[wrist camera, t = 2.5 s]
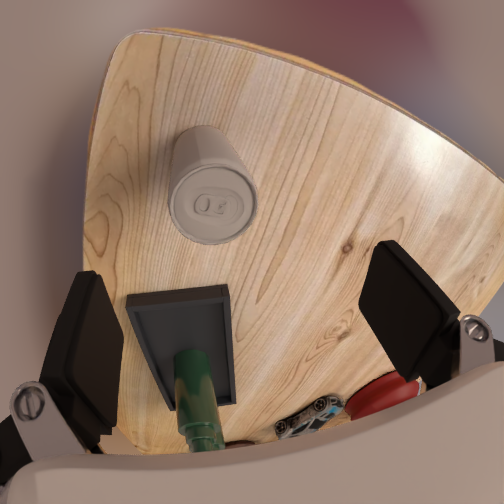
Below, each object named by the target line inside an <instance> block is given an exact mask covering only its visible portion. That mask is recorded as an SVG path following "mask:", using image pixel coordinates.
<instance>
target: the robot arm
mask: <svg viewBox="0 0 504 504" xmlns="http://www.w3.org/2000/svg"><path fill="white" fill-rule="evenodd" d="M358 305H359V309H360V311H361V313H362V314H363V316H364V317H365V319H366V321H367V322H368V324H369V325H370V327H371V329H372V330H373V332H374V334H375V335H376V337H377V339H378V340H379V342H380V344H381V345H382V347H383V349H384V350H385V352H386V354H387V355H388V357H389V359H390V360H391V362H392V364H393V365H394V367H395V369H396V371H397V372H398V374H399V375H400V376H401V377H403V378H404V379H405V381H406V383H409V382H411V381H413V380H416V379H418V378H419V376H420V377H421V378H422V384H421V390H420V395H418V396H416V397H414V398H411V399H409V400H407V401H404V402H402V403H400V404H397V405H395V406H392V407H390V408H387V409H384V410H382V411H379V412H376V413H374V414H371V415H368V416H365V417H362V418H359V419H357V420H354V421H350V422H347V423H344V424H341V425H338V426H334V427H331V428H328V429H324V430H320V431H317V432H313V433H309V434H305V435H301V436H297V437H293V438H288V439H284V440H279V441H274V442H269V443H263V444H258V445H252V446H246V447H239V448H232V449H225V450H216V451H207V452H196V453H181V454H159V455H114V454H107V453H106V452H105V450H104V449H103V448H102V447H101V445H100V444H99V442H100V435H112V427H115V426H116V424H117V408H118V393H119V381H120V370H121V360H122V352H123V343H124V336H123V331H122V329H121V326H120V324H119V321H118V319H117V316H116V314H115V311H114V309H113V306H112V304H111V301H110V298H109V296H108V293H107V290H106V287H105V285H104V282H103V279H102V276H101V275H100V274H98V275H97V274H96V272H95V271H93V270H92V271H82V272H78V273H77V274H76V276H75V279H74V281H73V284H72V286H71V288H70V291H69V293H68V296H67V299H66V302H65V304H64V307H63V309H62V312H61V314H60V315H59V317H58V319H57V322H56V325H55V328H54V331H53V334H52V337H51V340H50V343H49V346H48V350H47V353H46V356H45V360H44V363H43V367H42V371H41V374H40V378H39V382H35V381H29V382H25V383H23V384H21V385H20V386H19V387H18V388H17V389H16V390H15V391H14V393H13V394H12V397H11V400H10V412H11V415H9V416H8V417H7V418H6V419H5V420H3V421H2V422H1V423H0V504H504V343H503V342H501V341H498V340H495V339H493V336H492V331H491V329H490V327H489V325H488V324H487V323H486V322H485V321H484V320H483V319H481V318H480V317H478V316H475V315H465V316H463V317H462V319H461V320H460V322H459V320H458V319H457V318H458V316H459V314H460V313H461V312H460V311H459V309H458V308H457V307H456V306H455V305H454V303H453V302H452V301H451V300H450V299H449V298H448V296H447V295H446V294H445V293H444V292H443V291H442V290H441V288H440V287H439V286H438V285H437V284H436V283H435V282H434V281H433V280H432V278H431V277H430V276H429V275H428V274H427V273H426V272H425V271H424V270H423V269H422V268H421V267H420V266H419V264H418V263H417V262H416V261H415V260H414V259H413V258H412V257H411V256H410V255H409V254H408V253H407V252H406V251H405V250H404V249H403V248H402V247H401V246H400V245H399V244H398V243H397V242H396V241H395V240H388V241H380V242H379V243H378V244H377V246H375V247H374V250H373V254H372V257H371V261H370V265H369V268H368V272H367V275H366V279H365V282H364V285H363V289H362V292H361V295H360V298H359V303H358Z"/></svg>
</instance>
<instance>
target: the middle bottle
mask: <svg viewBox="0 0 504 504" xmlns="http://www.w3.org/2000/svg"><path fill="white" fill-rule="evenodd" d="M173 372H174V388H175V402H176V414H177V425H178V432H179V433H180V434H181V435H183V436H185V437H186V443H187V444H188V445H191V446H192V451H193V453H196V452H207V451H213V446H212V444H214V443H215V442H216V441H217V439H216V434H217V433H218V432H220V430H221V424H220V419H219V413H218V407H217V402H216V396H215V390H214V384H213V377H212V371H211V365H210V358H209V356H208V355H207V354H206V353H205V352H203V351H200V350H192V349H191V350H184V351H181V352H179V353H177V354H176V355H175V356H174V358H173Z"/></svg>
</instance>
